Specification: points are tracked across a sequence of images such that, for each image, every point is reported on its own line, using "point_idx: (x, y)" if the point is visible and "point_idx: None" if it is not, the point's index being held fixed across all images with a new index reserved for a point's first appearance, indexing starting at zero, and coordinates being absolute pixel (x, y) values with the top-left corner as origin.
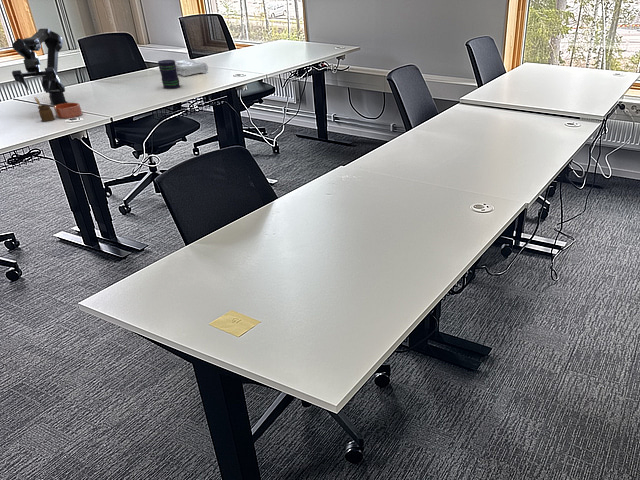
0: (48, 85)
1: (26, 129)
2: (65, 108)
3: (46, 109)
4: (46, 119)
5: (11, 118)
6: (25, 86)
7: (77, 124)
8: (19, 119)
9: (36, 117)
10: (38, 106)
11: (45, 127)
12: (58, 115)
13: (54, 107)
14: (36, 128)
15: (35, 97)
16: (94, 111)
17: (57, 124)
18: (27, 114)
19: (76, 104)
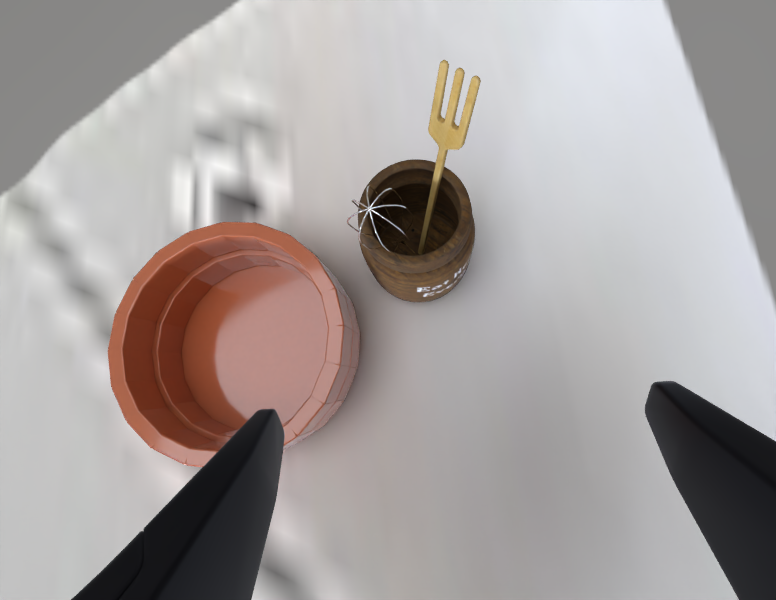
0: (233, 435)
1: (535, 41)
2: (233, 222)
3: (391, 185)
4: (421, 206)
5: (772, 431)
6: (747, 428)
7: (213, 71)
8: (676, 361)
9: (533, 379)
10: (462, 193)
11: (411, 56)
12: (333, 274)
13: (332, 295)
14: (469, 47)
15: (457, 71)
16: (81, 405)
17: (338, 107)
18: (650, 543)
19: (142, 400)
